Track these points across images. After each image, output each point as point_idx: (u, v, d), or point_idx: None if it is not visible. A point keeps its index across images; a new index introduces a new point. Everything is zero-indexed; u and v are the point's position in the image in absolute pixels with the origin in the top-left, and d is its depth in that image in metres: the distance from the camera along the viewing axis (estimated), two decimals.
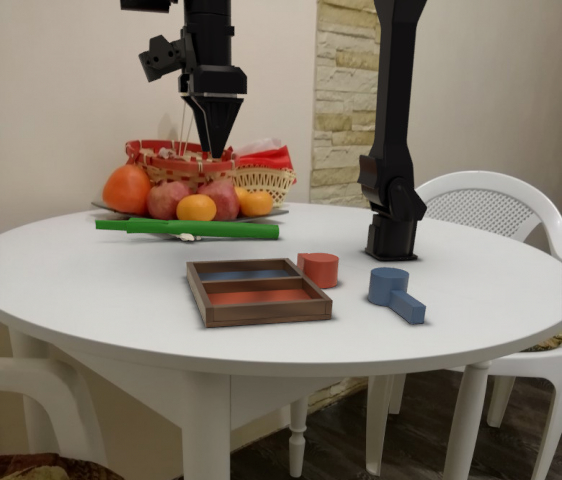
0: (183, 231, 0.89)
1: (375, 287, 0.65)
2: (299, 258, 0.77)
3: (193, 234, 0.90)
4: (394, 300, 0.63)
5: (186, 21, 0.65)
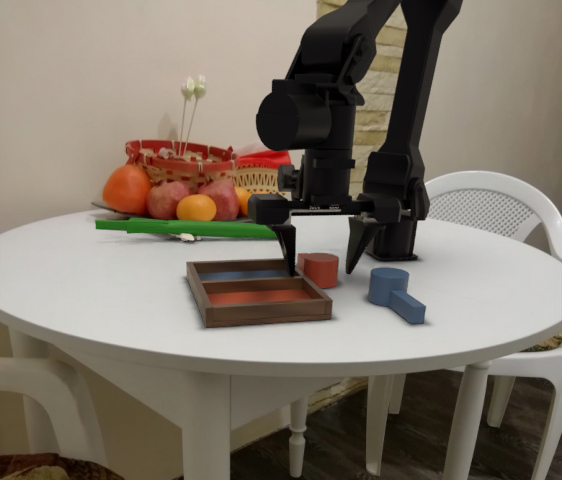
0: (183, 231, 0.89)
1: (375, 287, 0.65)
2: (299, 258, 0.77)
3: (193, 234, 0.90)
4: (394, 300, 0.63)
5: None
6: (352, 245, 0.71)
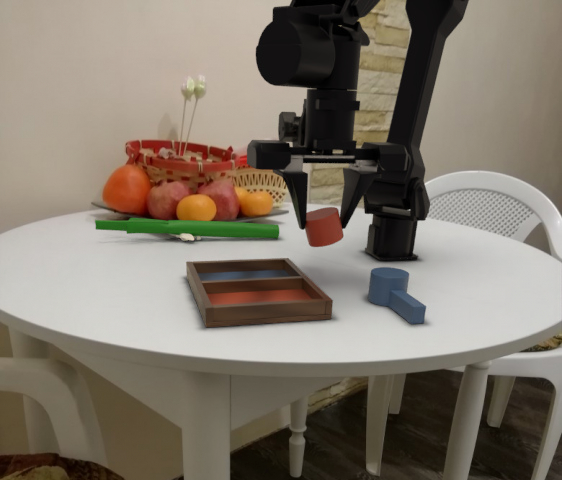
0: (183, 231, 0.89)
1: (375, 287, 0.65)
2: None
3: (193, 234, 0.90)
4: (394, 300, 0.63)
5: None
6: (347, 196, 0.68)
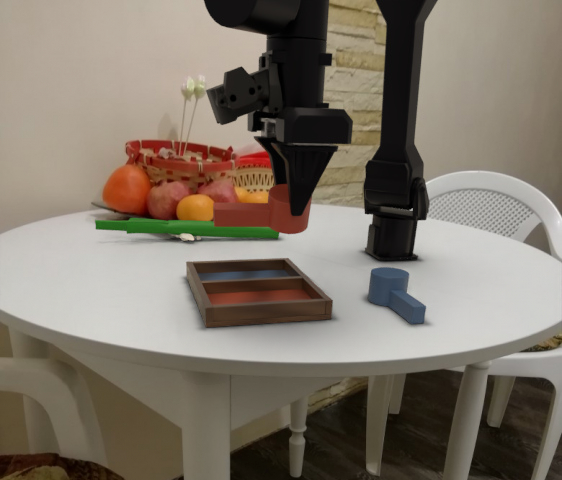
0: (183, 231, 0.89)
1: (375, 287, 0.65)
2: (226, 213, 0.57)
3: (193, 234, 0.90)
4: (394, 300, 0.63)
5: (270, 47, 0.50)
6: None
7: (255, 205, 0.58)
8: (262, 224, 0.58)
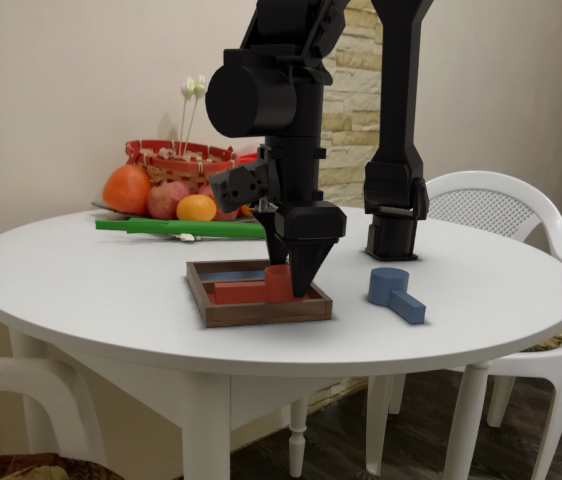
0: (183, 231, 0.89)
1: (375, 287, 0.65)
2: (226, 290, 0.61)
3: (193, 234, 0.90)
4: (394, 300, 0.63)
5: (269, 143, 0.54)
6: (280, 240, 0.64)
7: (253, 283, 0.62)
8: (261, 299, 0.62)
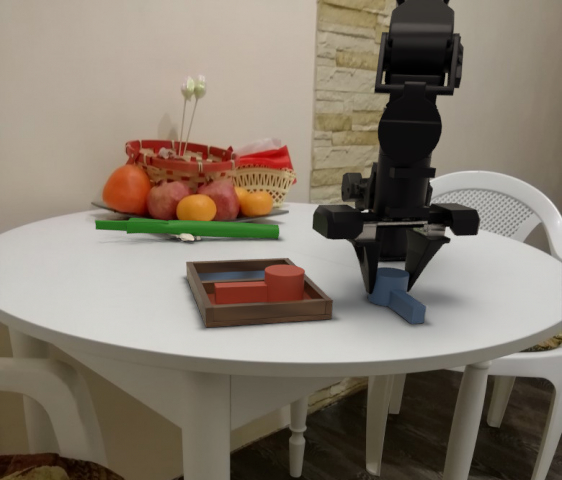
0: (183, 231, 0.89)
1: (375, 287, 0.65)
2: (226, 290, 0.61)
3: (193, 234, 0.90)
4: (394, 300, 0.63)
5: None
6: (412, 260, 0.65)
7: (253, 283, 0.62)
8: (261, 299, 0.62)
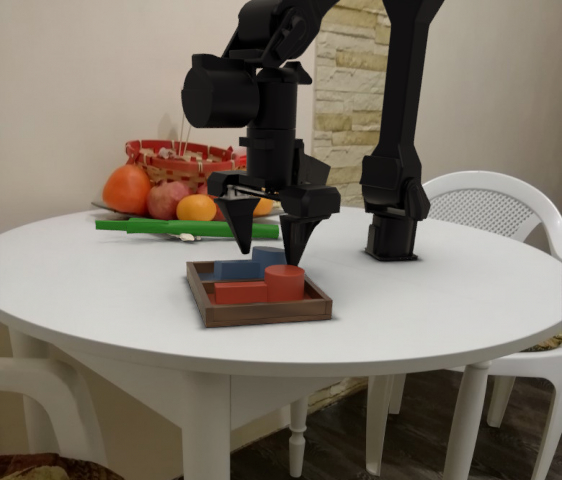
0: (183, 231, 0.89)
1: None
2: (226, 290, 0.61)
3: (193, 234, 0.90)
4: None
5: None
6: None
7: (253, 283, 0.62)
8: (261, 299, 0.62)
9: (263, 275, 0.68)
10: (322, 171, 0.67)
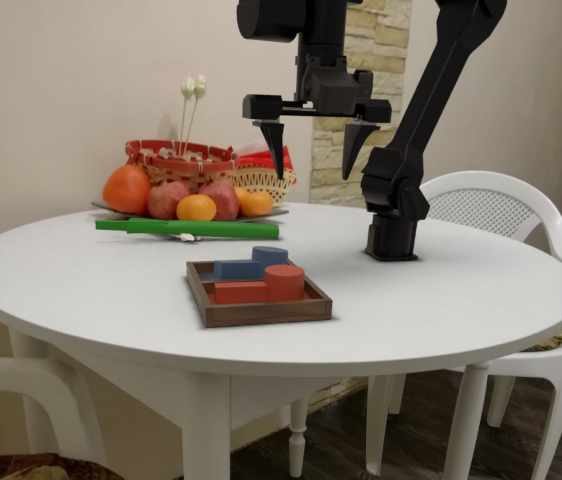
0: (183, 231, 0.89)
1: None
2: (226, 290, 0.61)
3: (193, 234, 0.90)
4: None
5: (334, 52, 0.65)
6: None
7: (253, 283, 0.62)
8: (261, 299, 0.62)
9: (263, 275, 0.68)
10: (316, 88, 0.63)
